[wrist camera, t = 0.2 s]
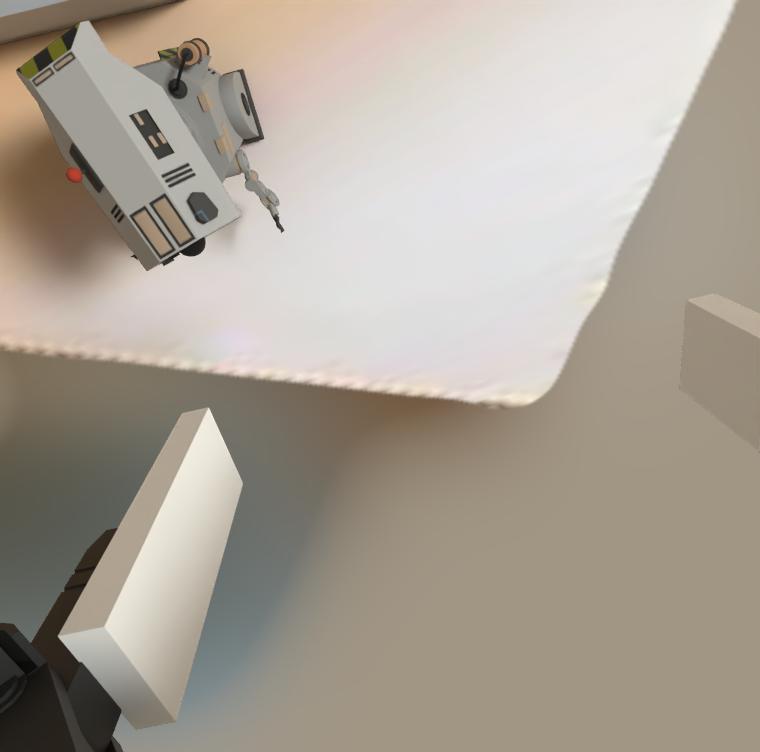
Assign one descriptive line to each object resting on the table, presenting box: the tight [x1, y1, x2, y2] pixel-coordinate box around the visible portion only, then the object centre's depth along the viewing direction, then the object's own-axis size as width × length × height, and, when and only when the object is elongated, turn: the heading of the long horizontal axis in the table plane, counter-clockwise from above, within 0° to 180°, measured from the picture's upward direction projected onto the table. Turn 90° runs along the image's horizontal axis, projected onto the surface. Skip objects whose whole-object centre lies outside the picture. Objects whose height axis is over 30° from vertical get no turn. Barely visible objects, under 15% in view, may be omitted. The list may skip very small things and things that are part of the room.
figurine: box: [16, 21, 284, 271], centre depth 29 cm, size 9×12×15 cm
